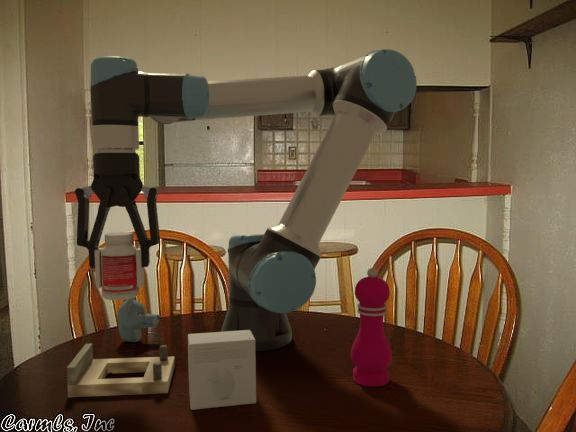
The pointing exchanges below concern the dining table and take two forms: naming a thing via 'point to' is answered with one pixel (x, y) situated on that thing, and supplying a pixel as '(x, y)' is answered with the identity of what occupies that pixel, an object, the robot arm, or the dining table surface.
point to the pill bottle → (119, 267)
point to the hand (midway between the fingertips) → (120, 285)
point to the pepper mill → (371, 332)
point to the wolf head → (134, 320)
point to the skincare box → (221, 369)
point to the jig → (91, 372)
